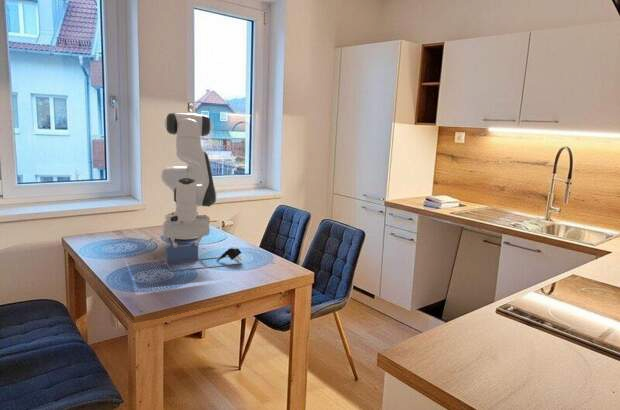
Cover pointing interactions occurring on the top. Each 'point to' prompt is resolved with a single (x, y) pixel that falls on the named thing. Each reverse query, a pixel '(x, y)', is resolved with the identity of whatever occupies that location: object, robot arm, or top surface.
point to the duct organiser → (187, 256)
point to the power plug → (231, 254)
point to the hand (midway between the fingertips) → (186, 246)
